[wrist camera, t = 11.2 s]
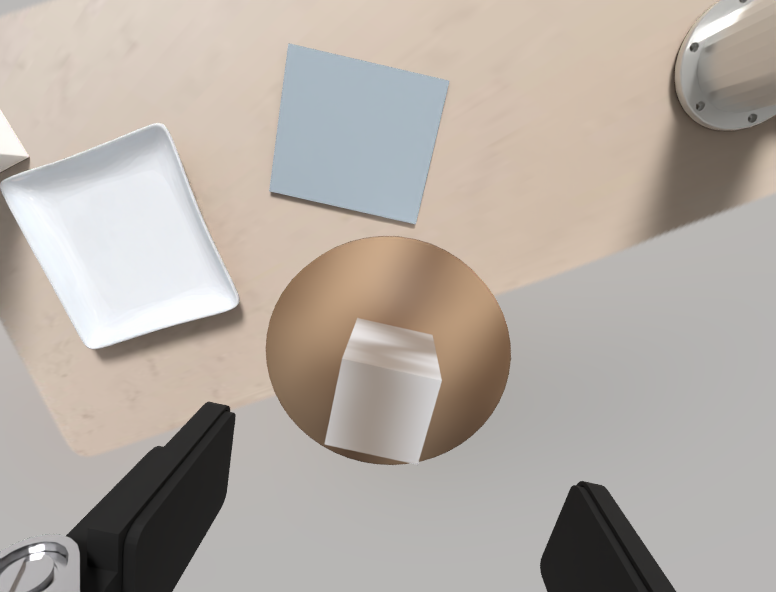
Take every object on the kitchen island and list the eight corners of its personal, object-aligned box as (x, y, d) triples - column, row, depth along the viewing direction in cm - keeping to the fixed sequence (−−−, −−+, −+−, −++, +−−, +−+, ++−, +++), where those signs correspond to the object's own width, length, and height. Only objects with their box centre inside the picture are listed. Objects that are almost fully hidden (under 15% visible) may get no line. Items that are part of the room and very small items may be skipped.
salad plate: (106, 343, 50) (85, 354, 47) (21, 182, 45) (-10, 181, 42) (253, 299, 47) (242, 307, 44) (181, 123, 42) (162, 118, 39)
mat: (448, 82, 40) (449, 80, 39) (415, 223, 44) (415, 224, 43) (289, 45, 40) (288, 43, 39) (270, 191, 44) (269, 191, 43)
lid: (537, 267, 20) (593, 298, 14) (469, 473, 23) (491, 567, 17) (290, 210, 19) (242, 218, 14) (258, 427, 23) (208, 507, 17)
